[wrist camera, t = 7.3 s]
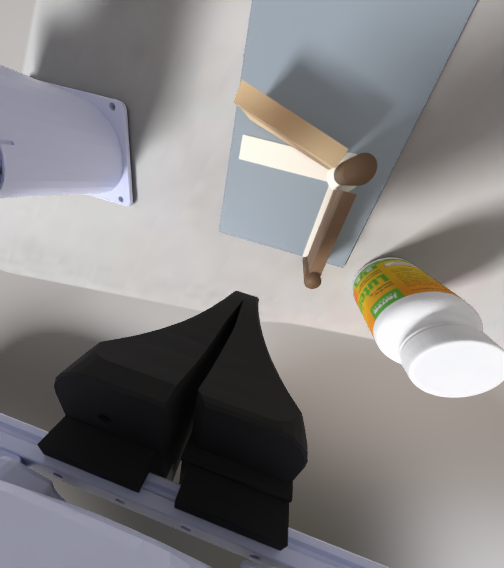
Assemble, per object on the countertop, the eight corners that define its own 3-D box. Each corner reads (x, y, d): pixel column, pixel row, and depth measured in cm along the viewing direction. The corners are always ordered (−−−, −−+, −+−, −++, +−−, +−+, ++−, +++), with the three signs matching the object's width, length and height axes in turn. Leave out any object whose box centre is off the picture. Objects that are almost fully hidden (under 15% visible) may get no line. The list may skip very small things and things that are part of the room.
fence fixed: (298, 263, 19) (299, 285, 15) (338, 158, 15) (353, 149, 11) (315, 268, 19) (320, 291, 15) (359, 164, 15) (383, 156, 11)
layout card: (219, 231, 19) (218, 232, 19) (259, -41, 11) (258, -48, 11) (342, 266, 18) (343, 268, 18) (476, -3, 10) (482, -9, 10)
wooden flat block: (336, 157, 14) (348, 149, 11) (327, 171, 15) (336, 167, 11) (255, 104, 14) (242, 79, 10) (248, 121, 14) (234, 102, 11)
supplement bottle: (363, 250, 17) (427, 315, 9) (430, 262, 16) (571, 344, 8) (342, 302, 20) (376, 391, 11) (400, 313, 19) (482, 418, 11)
